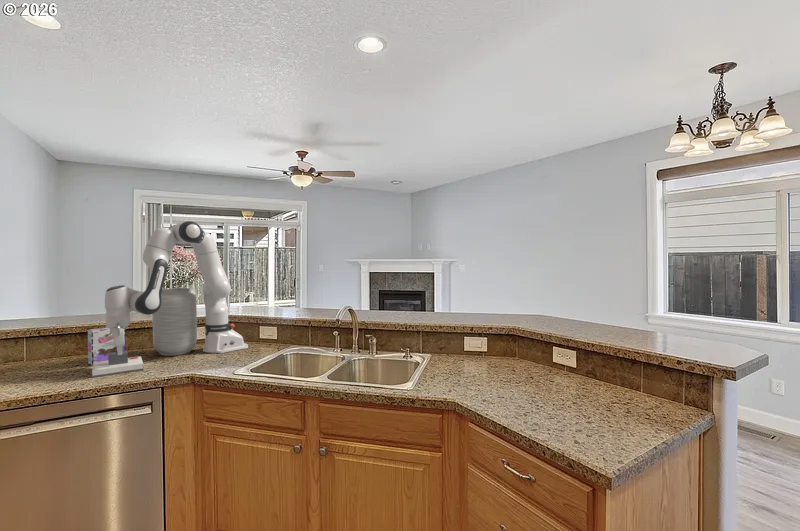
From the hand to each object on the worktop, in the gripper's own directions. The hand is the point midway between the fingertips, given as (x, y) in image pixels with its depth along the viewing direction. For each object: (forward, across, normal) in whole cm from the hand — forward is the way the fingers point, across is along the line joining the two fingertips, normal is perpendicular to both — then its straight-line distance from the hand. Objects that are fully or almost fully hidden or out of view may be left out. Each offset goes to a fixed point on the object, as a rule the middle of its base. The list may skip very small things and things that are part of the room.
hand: (119, 352), depth 178 cm
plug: (+6, 0, +1) cm, 6 cm away
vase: (+8, +20, -24) cm, 33 cm away
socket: (+8, 0, +1) cm, 8 cm away
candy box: (+8, +19, +5) cm, 21 cm away
